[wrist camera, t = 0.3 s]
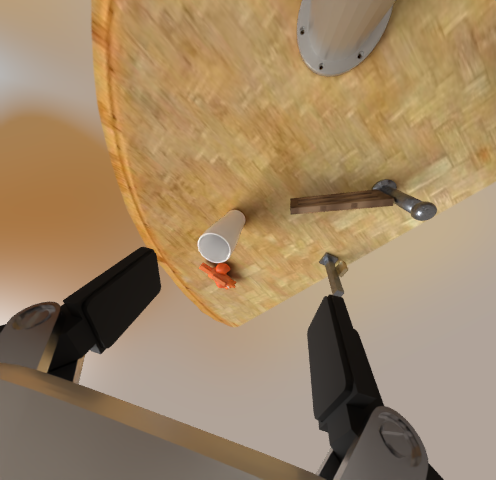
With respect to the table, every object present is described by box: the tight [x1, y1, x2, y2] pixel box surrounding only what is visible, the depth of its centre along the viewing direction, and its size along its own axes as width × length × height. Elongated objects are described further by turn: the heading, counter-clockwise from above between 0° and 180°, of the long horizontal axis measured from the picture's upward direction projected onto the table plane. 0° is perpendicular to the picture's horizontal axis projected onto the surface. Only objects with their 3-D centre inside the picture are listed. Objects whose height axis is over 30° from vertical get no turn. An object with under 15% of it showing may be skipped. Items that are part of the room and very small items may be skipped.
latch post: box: [319, 253, 348, 297], centre depth 40 cm, size 5×3×12 cm
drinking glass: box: [198, 210, 245, 263], centre depth 39 cm, size 7×7×15 cm
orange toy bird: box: [199, 263, 236, 289], centre depth 53 cm, size 5×8×12 cm
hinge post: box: [372, 179, 437, 221], centre depth 30 cm, size 4×4×14 cm
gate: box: [290, 189, 394, 214], centre depth 34 cm, size 16×1×6 cm, turn 99°
